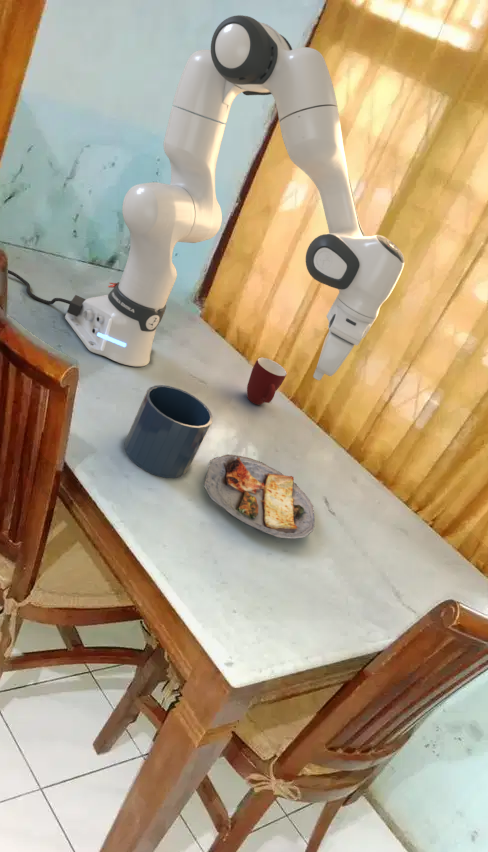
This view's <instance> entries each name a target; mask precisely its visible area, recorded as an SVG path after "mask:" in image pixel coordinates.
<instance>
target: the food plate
mask: <svg viewBox="0 0 488 852" xmlns="http://www.w3.org/2000/svg"><path fill="white" fill-rule="evenodd" d="M208 463H209V464H208V468H207V471H206V475H205V480H204V483H203V486H204V489H205V491H206V492H207V493H206V494H208V496H209V498H210V499H211V500H212V501H213V502H214V503H216V504H217V505H218V506H220V507H222V508H223V509H224V510H225V511H226V512H227V513H228V514H230V515H231V516H233V517H234V518H235V519H237V520H240V521H241V522H242V523H244V524H245V525H247V526H250V527H252V528H254V529H256V530H259V531H260V532H262V533H266V534H269V535H272V536H274V537H275V538H282V539H301V538H305V537H307V536H309V535H310V534H312V533H313V532H314V528H315V524H316V523H315V520H316V519H315V508H314V504H313V502H312V501H311V499H310V498H309V497H308V495H307V494H306V493H305V492H304V491H303V490H302V489H301V488H300V487H299V486H298V484H297V483H296V482H294V480H295V478H294V476H292V475H290V476H289V475H284V474H283V473H282V472H281V471H279V470H277V469H275V468H273V467H271V466H269V465H267V463H264V462H262V461H259V460H256V459H254V458H251V457H247V456H242V455H235V454H223V455H221V456H216V457H214V458H212V459H210V460H209V462H208Z"/></svg>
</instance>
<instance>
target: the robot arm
mask: <svg viewBox="0 0 488 852" xmlns="http://www.w3.org/2000/svg"><path fill="white" fill-rule="evenodd" d="M241 93H243V95H244V96H269V95H272V97H273V100H274V102H275V105H276V110H277V117H278V122H279V128H280V132H281V133H280V134H281V137H282V141H283V144H284V147H285V149H286V152H287V155H288V157H289V159H290V161H291V162H292V163H293V164H294V165H295V166H296V167H297V168H299V169H300V170H301V171H302V172H304V173H305V175H307V176H308V177H309V178H310V180H311V181H312V182H313V183H314V185H315V186H316V189H317V190H318V192H319V195H320V198H321V203H322V207H323V211H324V216H325V220H326V224H327V229H328V233H324V234H320V235H317V236H316V237H315V238H314V239H313V240H312V241H311V242H310V243H309V245H308V247H307V249H306V253H305V267H306V270H307V272H308V274H309V275H310V277H311V278H313V280H315V281H316V282H318V283H321V284H323V285H325V286H327V287H330V288H333V289H335V290H336V289H337V290H338V294H337V296H336V298H335V300H334V301H333V303H332V305H331V307H330V309H329V311H328V312H327V314H326V319H327V321H328V325H327V328H328V332H327V334H326V336H325V338H324V340H323V344H322V347H321V351H320V354H319V358H318V361H317V364H316V368H315V369H314V372H313V375H312V377H313V379H315V380H317V381H321V380H322V379H323V377H324V376H329V377H332V376H334V375H335V374H336V372H338V370H339V369H340V367H341V366H342V365H343V363H344V362H345V360H346V359H347V358H348V356H349V355H350V353H351V352H352V350H353V348H354V346H356V347H358V346H359V344H360V343H361V341H362V340H363V339H364V338H366V336H367V335H368V333H369V331H370V329H371V328H372V326H373V324H374V322H375V321H376V320H377V317H378V316H379V313H380V310H381V309H380V308H381V307H382V305H383V304H384V303H385V302H386V301H387V300H388V299H389V297H390V296H391V294H392V292H393V290H394V289H395V287H396V285H397V283H398V281H399V279H400V277H401V274H402V272H403V269H404V266H405V257H404V256H405V255H404V254H403V252H402V251H401V249H400V248H399V247H398V246H397V245H396V243H394V242H393V241H391V240H390V239H388V238H387V237H386V236H384V235H380V234H374V235H371V236H369V235H368V236H367V234H366V232H365V231H364V229H363V228H362V225H361V223H360V218H359V215H358V211H357V209H358V208H357V205H356V201H355V197H354V191H353V187H352V183H351V179H350V174H349V170H348V166H347V161H346V154H345V149H344V141H343V134H342V127H341V119H340V113H339V107H338V101H337V97H336V93H335V88H334V85H333V81H332V78H331V75H330V71H329V68H328V65H327V63H326V60H325V58H324V56H323V55H322V53H321V52H320V51H319V50H317V49H315V48H313V47H309V46H307V47H306V46H301V47H296V48H293V47H292V45H291V44H290V42H289V40H288V39H287V38H286V37H285V36H284V35H282V34H280V33H279V32H278V31H277V30H276V29H275V28H273V27H271V25H268V24H267V23H264V22H260V21H258V20H257V19H255V18H254V17H251V16H248V15H241V14H238V15H232V16H229V17H227V18H225V19H223V21H221V22H220V23H219V24H218V25H217V27H216V29H215V30H214V32H213V34H212V37H211V42H210V49H199V50H196V51H194V52H192V54H190V55H189V57H188V59H187V61H186V63H185V66H184V68H183V70H182V72H181V75H180V78H179V81H178V84H177V87H176V90H175V94H174V98H173V101H172V106H171V110H170V114H169V117H168V122H167V127H166V131H165V135H164V138H163V150H164V154H165V155H166V157H167V158H168V160H169V164H170V183H163V182H158V181H152V182H151V181H150V182H144V183H143V182H142V183H138V184H134V185H133V186H131V187H130V188H129V189H128V191H127V192H126V193H125V195H124V198H123V201H122V207H121V209H122V217H123V218H122V219H123V221H124V223H125V225H126V227H127V229H128V231H129V239H130V241H129V242H130V245H129V252H128V257H127V261H126V263H125V266H124V269H123V271H122V275H121V278H120V280H119V282H109V283H108V284H110V285H108V286H107V288H112V289H111V290H110V292H109V293H108V294H102V295H96V296H92V297H91V296H90V297H87V298H84V297H81V296H79V295H77V294H75V295H74V296H73V298H72V299H71V300H69V299H66V298H62V297H54V298H53V299H51V300H46V299H43V298H41V297H39V296H37V295H36V294H34V293H33V292H32V291H31V285H30V283H29V282H28V281H27V280H26V279H25V278H23V277H22V276H21V275H19V274H18V273H16V272H14V271H12V270H10V269H7V270H8V273H7V274H9V275H11V276H13V277H15V278H16V279H18V280H19V281H20V282H21V283H23V284H24V285H25V286H26V289H25V290H26V291H25V292H26V294H27V295H28V296H30V297H31V298H33V299H34V300H36V301H38V302H40V303H43V304H47V305H54V304H55V303H56V302H61V303H65V304H67V305H68V308H67V311H66V313H65V316H64V319H65V320H66V321H67V323H68V324H69V326H70V327H71V329H72V330H73V331H74V333H75V334H76V335H77V336H78V338H79V339H80V341H81V342H82V344H83V345H84V346H85V347H86V348H87V350H88V351H89V352H91V353H93V354H96V355H99V356H103V357H105V358H108V359H109V360H112V361H114V362H116V363H119V364H121V365H125V366H129V367H136V368H137V367H144V366H147V365H148V364H149V363H150V361H151V354H152V350H153V343H154V339H155V336H156V332H157V329H158V327H159V325H160V323H161V321H162V319H163V317H164V314H165V312H166V309H167V305H166V304H167V302H168V299H169V297H170V295H171V293H172V290H173V287H174V285H175V283H176V281H177V277H178V271H177V268H176V265H174V263H173V254H174V248H175V246H176V244H178V243H186V244H196V243H201V242H205V241H208V240H211V239H212V238H214V237H215V236H216V235H217V234H218V232H219V231H220V229H221V225H222V223H223V221H222V220H223V213H222V212H223V211H222V208H221V206H220V203H219V202H218V199H217V193H216V170H217V163H218V157H219V153H220V149H221V145H222V142H223V138H224V134H225V129H226V126H227V122H228V119H229V115H230V112H231V111H230V110H231V107H232V104H233V103H234V100H235V99H236V97H237V96H238V95H239V94H241Z"/></svg>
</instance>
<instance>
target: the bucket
mask: <svg viewBox="0 0 488 852" xmlns="http://www.w3.org/2000/svg"><path fill="white" fill-rule="evenodd" d="M213 419H214V417H213V415H212V412H211V410H210V409H209V407H208V406H207V405H206V404H205V403H204V402H203V401H202V400H200V399H199V398H198V397H196V396H195V395H193V394H192V393H189V392H187V391H186V390H183V389H180V388H178V387H174V386H171V385H164V384H157V385H153V386H150V387H149V388H148V389H147V390H146V392H145V394H144V396H143V399H142V401H141V403H140V405H139V408H138V410H137V413H136V414H135V417H134V420H133V422H132V424H131V427H130V429H129V431H128V433H127V435H126V438H125V441H124V445H123V448H124V452H125V454H126V456H127V457H128V458H129V459H130V460H131V462H132V463H133V464H135V465H136V466H137V467H138V468H140V469H142V471H143V470H144V471H145V472H147V473H149V474H152V475H154V476H157V477H159V478H166V479H177V478H180V477H181V478H182V477H184V475H186V474H187V473H188V471H189V469H190V467H191V465H192V463H193V461H194V459H195V458H196V456H197V453H198V451H199V449H200V447H201V446H202V443H203V441H204V439H205V437H206V435H207V433H208V431H209V429H210V427H211V425H212V423H213Z"/></svg>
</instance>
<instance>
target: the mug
mask: <svg viewBox="0 0 488 852" xmlns="http://www.w3.org/2000/svg"><path fill="white" fill-rule="evenodd" d="M287 375H288V373H287V370H286V369H285V368H284V367H283V366H282V365H280V363H278V362H276V361H274V360H272V359H270V358H268V357H262V356H261V357H257V360H256V361H255V363H254V364H253V367H252V369H251V373H250V376H249V378H248V382H247V385H246V397H247V400H248V401H249V402H250V403H252V404H254V405H256V406H258V405H259V406H261V405H262V404H264V403H266V404H268V403H271V402H272V401H273V399H274V397H275V394H276V392H277V391H278V389H279V388H280V387H281V385H282V384H283V382H284V381H285V379H286V377H287Z"/></svg>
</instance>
